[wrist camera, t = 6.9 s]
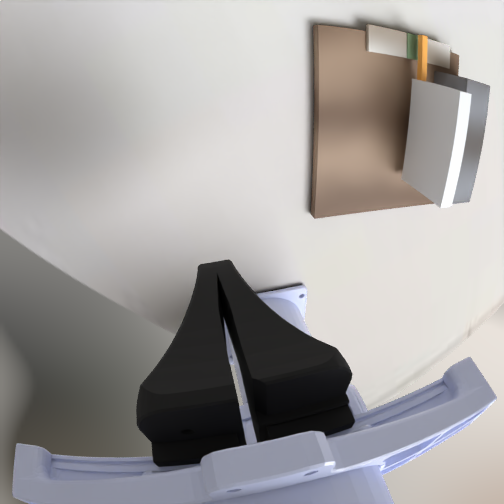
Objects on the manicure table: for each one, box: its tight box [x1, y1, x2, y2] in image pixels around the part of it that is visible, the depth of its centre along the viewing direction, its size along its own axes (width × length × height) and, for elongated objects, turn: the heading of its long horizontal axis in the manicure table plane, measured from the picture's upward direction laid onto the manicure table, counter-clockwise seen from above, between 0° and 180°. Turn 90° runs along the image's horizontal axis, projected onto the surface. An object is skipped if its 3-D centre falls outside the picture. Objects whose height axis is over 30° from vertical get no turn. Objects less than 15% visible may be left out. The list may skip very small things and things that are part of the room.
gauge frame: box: [311, 24, 490, 219], centre depth 19 cm, size 14×13×4 cm
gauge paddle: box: [401, 35, 472, 208], centre depth 16 cm, size 12×1×5 cm, turn 3°
